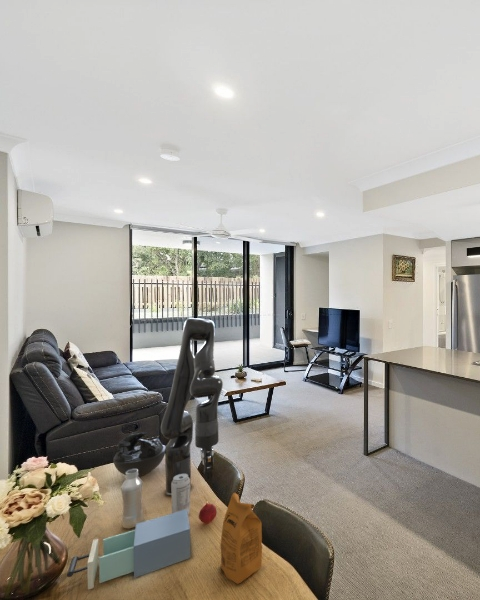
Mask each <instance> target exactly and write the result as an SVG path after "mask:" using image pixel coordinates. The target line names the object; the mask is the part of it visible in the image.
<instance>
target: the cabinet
mask: <svg viewBox="0 0 480 600" xmlns="http://www.w3.org/2000/svg"><path fill="white" fill-rule="evenodd" d="M189 518H190V517H189V514H188V510H187V509H186V510H182V511H179V512H176V513H172V512H171V513H169V514H166V515H162V516H158V517H154V518H151V519H147V520H143V521H142V522H141V523H137V524H136V527H134V530H135V537H134V571H133V578H138V577H142V576H145V575H146V574H149V573H152V572H155V571H158V570H161V569H163V568H167V567H169V566H172V565H175V564H178V563H180V562H182V561H186V560H188V559H191V527H190V525H191V524H190V519H189Z"/></svg>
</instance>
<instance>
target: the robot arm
mask: <svg viewBox="0 0 480 600" xmlns="http://www.w3.org/2000/svg"><path fill="white" fill-rule="evenodd" d="M215 333H216V330H215V323H214V321H213V320H210V319H205V318H194V317H188V318H186V320H185V322H184V325H183V331H182V335H181V342H180V350H179V354H178V359H177V363H176V366H175V367H176V368H175V370H174V374H173V379H172V385H171V389H170V394H169V398H168V402H167V406H166V409H165V411H164V414H163V417H162V419H161V423H160V433H161V435H162V437H164V438H165V439H167V440H168V442H167V444H166V445H165V455H164V461H165V463H164V465H165V467H164V469H165V490H164V491H165V496H170V497H172V492H171V483H172V481H173V478H174V477H175V476H176V475H179V474H188V477H189V478H190V489H191V488H192V473H191V472H192V470H191V467H192V466H191V465H192V464H191V463H192V462H191V460H192V459H191V445H192V442H193V435H194V434H195V435H194V438H195V439H194V442H195V443H194V444H195V447H196V448H198V449H200V460H201V461H202V462H201V464H202V474H203V476H204V482H209V481H212V480H213V471H214V454H215V449H214V446H216V445H218V443H219V440H220V439H219V435H220V434H219V419H218V415H219V414H218V406H219V401H220V396H221V394H222V391H223V386H224V381H223V380H222V378H221V377H220V376H217V375H216V376H214V375H215V373H216V365H215V359H214V358H215V357H214V352H215V351H214V350H215ZM192 341H195V342H196V341H197V342H204V344H203V345H202V346H201V347H200V348H199V350H198V351H197V352H196V353H195V355H194V353H193V351H192V345H191V343H192ZM192 397H193V398H194V399H201V398H208V397H210V398H209V399H208V400H206V401H204V402H201V403H198V404H197V405H196V407H195V427H194V420H193V417H192V415H191V414H190V412H188V411H185V409H186V407H187V405H188V403H189V402H190V400H191V398H192Z"/></svg>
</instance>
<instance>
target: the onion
mask: <svg viewBox="0 0 480 600" xmlns="http://www.w3.org/2000/svg"><path fill="white" fill-rule="evenodd" d="M217 510H218V509H217V507H216V506H215V505H214V504H213V503H210V502H209V501H206V502H205V504H204V505H203V506H202V507H201V509H200V510H199V512H198V519H199V521H200V522H201V523H202V524H206V525H208V524H210V523H211V522H213V521H214V520H215V519H216V517H217V513H218V512H217Z"/></svg>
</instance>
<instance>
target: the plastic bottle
mask: <svg viewBox="0 0 480 600" xmlns="http://www.w3.org/2000/svg"><path fill="white" fill-rule="evenodd" d="M124 477H125V479H124V481H123V482H122V483H121V487H120V491H121V496H122V506H123V507H122V515H121V516H122V517H121V525H122V527H123V528H125V529H134V528H135V527H136V524H137V523H141V522H144V518H145V517H144V515H145V514H144V510H143V503H142V494H143V485H144V482H143V480H142V479H141V478H140V476H138V469H132V470H129V471H127V472H126V475H124Z"/></svg>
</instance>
